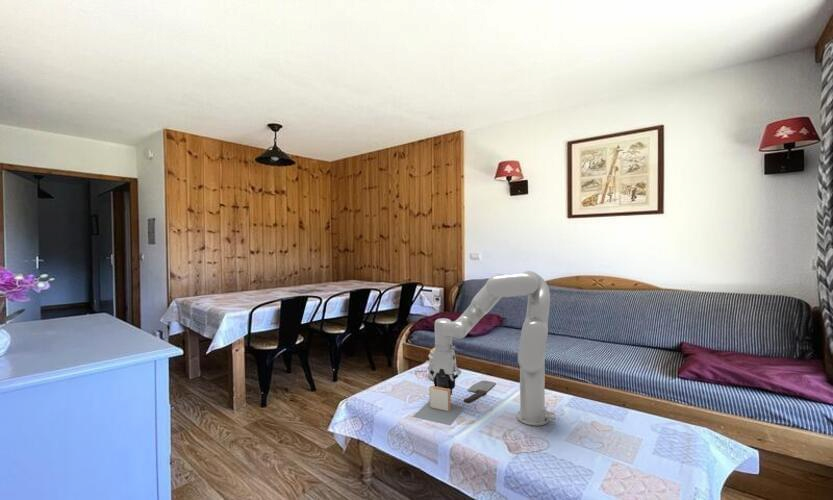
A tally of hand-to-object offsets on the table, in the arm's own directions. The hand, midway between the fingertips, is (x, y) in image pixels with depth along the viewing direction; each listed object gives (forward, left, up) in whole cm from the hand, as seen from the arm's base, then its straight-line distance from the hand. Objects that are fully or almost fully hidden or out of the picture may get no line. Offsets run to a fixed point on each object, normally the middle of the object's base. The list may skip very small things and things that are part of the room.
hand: (444, 387), depth 167 cm
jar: (+15, -30, -9) cm, 35 cm away
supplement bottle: (0, 0, -3) cm, 3 cm away
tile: (0, +5, -8) cm, 9 cm away
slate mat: (-1, +8, -8) cm, 11 cm away
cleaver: (-8, -21, -9) cm, 24 cm away
